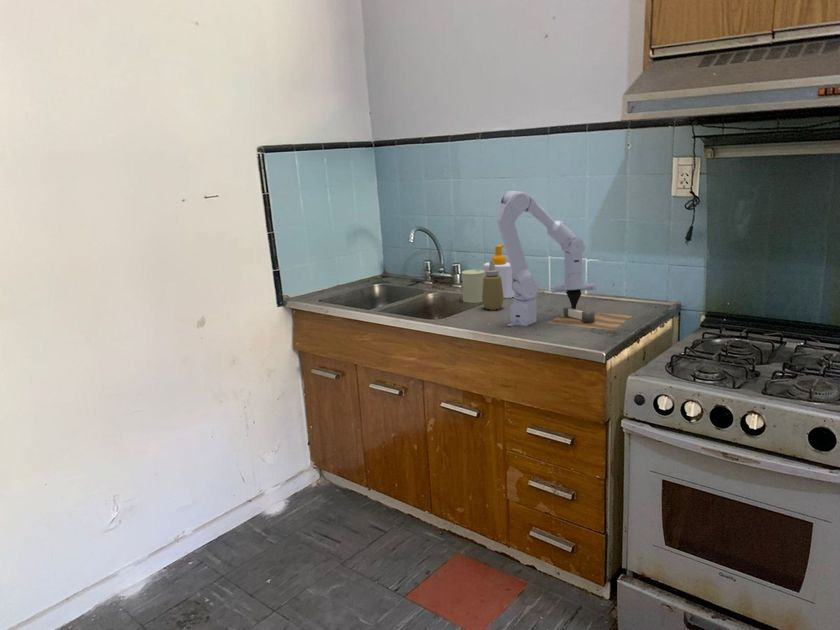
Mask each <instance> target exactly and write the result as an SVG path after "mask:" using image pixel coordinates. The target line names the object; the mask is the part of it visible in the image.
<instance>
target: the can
mask: <svg viewBox="0 0 840 630" xmlns="http://www.w3.org/2000/svg"><path fill="white" fill-rule="evenodd" d="M484 277H485V271H484V269H467V270H463V271H461V279H462V302H464V303H467V304H468V303H469V304H477V303H478V304H479V303H483V301H482V292H483V278H484Z"/></svg>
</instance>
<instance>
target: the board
mask: <svg viewBox="0 0 840 630" xmlns="http://www.w3.org/2000/svg"><path fill="white" fill-rule="evenodd" d="M594 312H595V311H594ZM632 317H633V315H626V314H617V313H605V312H595V321H594V322H592V323H585V322H582V320H581V319H577V318H573V317H570V316H566V315H563V313H562V314H561V315H558V316H557V317H554V318H553V319H551V320H550V321H548V322H547V324H551V325H552V324H553V325H561V326H570V327H571V326H572V327H579V328H580V327H581V328H589V329H598V330H599V329H600V330H607V331H615V330H616V329H617V328H619V327H620V326H621V325H622V324H624V323H626V322H627V321H628V320H630V319H631V318H632Z"/></svg>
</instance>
